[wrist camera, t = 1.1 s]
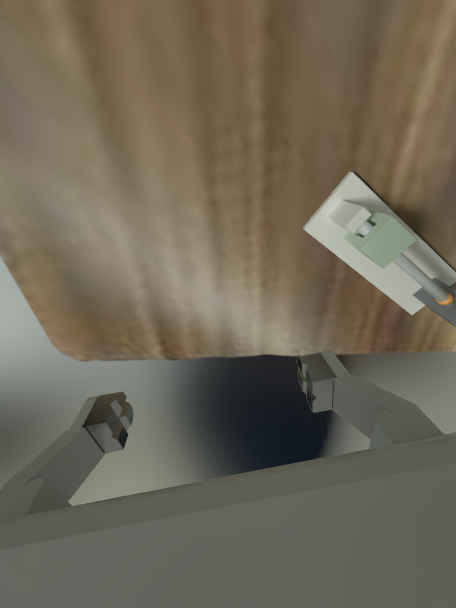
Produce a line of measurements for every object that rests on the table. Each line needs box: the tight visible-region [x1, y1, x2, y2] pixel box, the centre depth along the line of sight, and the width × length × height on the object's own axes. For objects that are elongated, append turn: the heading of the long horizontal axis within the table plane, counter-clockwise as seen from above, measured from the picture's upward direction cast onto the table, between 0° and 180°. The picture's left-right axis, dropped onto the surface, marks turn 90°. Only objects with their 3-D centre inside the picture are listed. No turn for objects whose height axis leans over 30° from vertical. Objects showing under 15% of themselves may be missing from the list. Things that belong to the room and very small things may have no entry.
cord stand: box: [303, 172, 456, 327], centre depth 37 cm, size 10×30×10 cm, turn 55°
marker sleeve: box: [344, 210, 416, 269], centre depth 33 cm, size 5×5×5 cm
